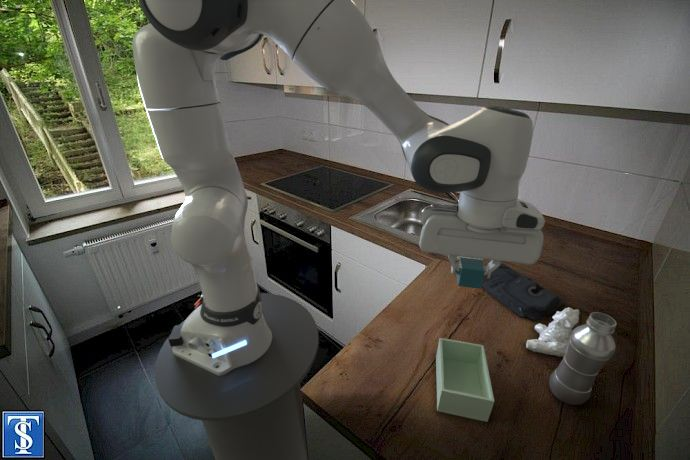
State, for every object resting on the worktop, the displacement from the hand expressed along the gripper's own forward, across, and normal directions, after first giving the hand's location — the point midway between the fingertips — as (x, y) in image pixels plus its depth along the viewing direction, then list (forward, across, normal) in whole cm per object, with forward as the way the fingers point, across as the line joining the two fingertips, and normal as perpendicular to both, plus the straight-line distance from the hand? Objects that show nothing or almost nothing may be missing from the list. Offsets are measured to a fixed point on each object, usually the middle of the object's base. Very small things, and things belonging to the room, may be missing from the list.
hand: (469, 274), depth 60 cm
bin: (+20, -3, -7) cm, 21 cm away
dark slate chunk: (+23, +20, +29) cm, 42 cm away
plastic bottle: (+23, +22, -4) cm, 32 cm away
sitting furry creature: (+23, +23, +9) cm, 34 cm away
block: (+2, 0, 0) cm, 2 cm away
